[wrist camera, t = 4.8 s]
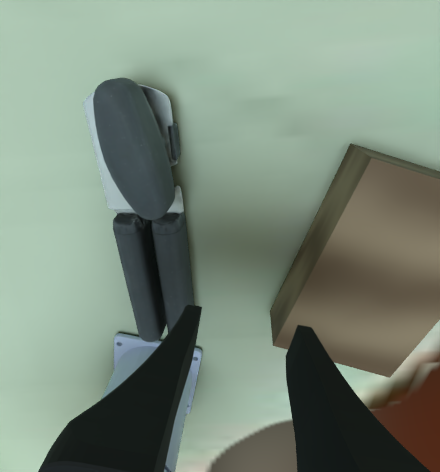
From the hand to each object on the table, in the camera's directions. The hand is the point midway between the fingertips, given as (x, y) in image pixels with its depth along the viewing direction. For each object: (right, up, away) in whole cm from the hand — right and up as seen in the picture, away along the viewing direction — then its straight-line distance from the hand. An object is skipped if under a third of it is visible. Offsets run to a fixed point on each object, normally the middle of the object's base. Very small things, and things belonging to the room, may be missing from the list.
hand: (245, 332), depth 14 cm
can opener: (-6, +5, +9) cm, 12 cm away
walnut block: (+9, +3, +9) cm, 13 cm away
